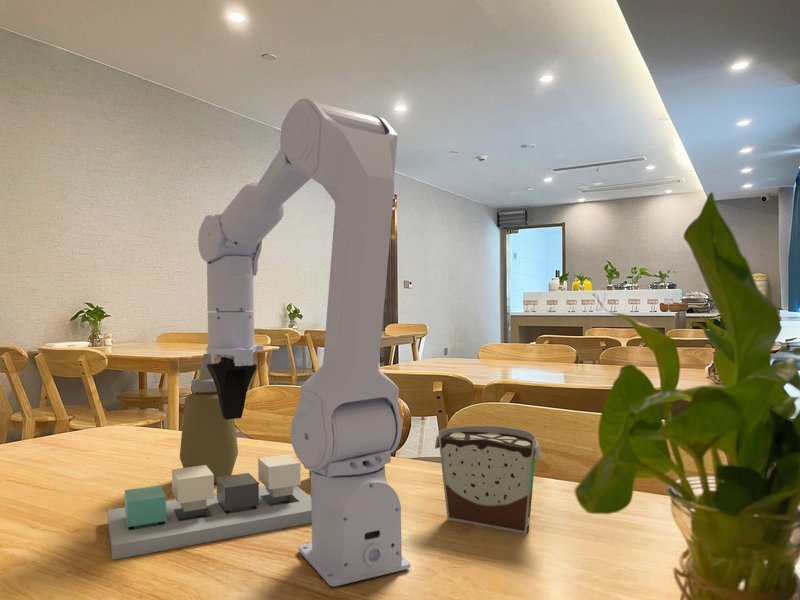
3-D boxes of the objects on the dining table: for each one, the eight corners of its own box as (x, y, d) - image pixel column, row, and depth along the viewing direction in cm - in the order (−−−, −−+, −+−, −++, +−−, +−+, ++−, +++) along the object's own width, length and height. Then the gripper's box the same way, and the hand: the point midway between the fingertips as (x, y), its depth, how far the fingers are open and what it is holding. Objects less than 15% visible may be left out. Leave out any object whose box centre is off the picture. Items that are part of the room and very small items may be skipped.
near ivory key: (300, 494, 72) (300, 462, 72) (269, 500, 71) (268, 467, 71) (288, 484, 77) (288, 454, 77) (258, 489, 75) (258, 458, 75)
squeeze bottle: (167, 486, 84) (165, 356, 85) (200, 470, 92) (198, 351, 92) (220, 489, 82) (218, 356, 83) (248, 473, 90) (247, 351, 90)
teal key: (166, 531, 66) (166, 496, 66) (127, 538, 64) (127, 502, 64) (161, 518, 70) (161, 485, 70) (125, 524, 68) (124, 490, 68)
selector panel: (324, 520, 70) (324, 508, 70) (112, 559, 60) (112, 545, 60) (292, 492, 81) (292, 481, 81) (108, 522, 70) (107, 509, 71)
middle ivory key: (214, 508, 68) (213, 474, 68) (178, 514, 66) (177, 479, 66) (206, 497, 72) (206, 465, 72) (172, 502, 70) (172, 469, 70)
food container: (556, 518, 70) (555, 430, 70) (540, 536, 64) (538, 441, 64) (458, 502, 76) (457, 421, 76) (435, 517, 71) (434, 430, 71)
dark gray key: (259, 515, 70) (258, 482, 70) (225, 521, 68) (224, 487, 68) (249, 504, 74) (248, 472, 74) (217, 509, 73) (216, 477, 73)
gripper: (277, 311, 74) (279, 424, 74) (248, 311, 87) (249, 407, 86) (217, 312, 70) (219, 430, 70) (196, 312, 83) (198, 411, 83)
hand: (232, 418), depth 78 cm, fingers closed
